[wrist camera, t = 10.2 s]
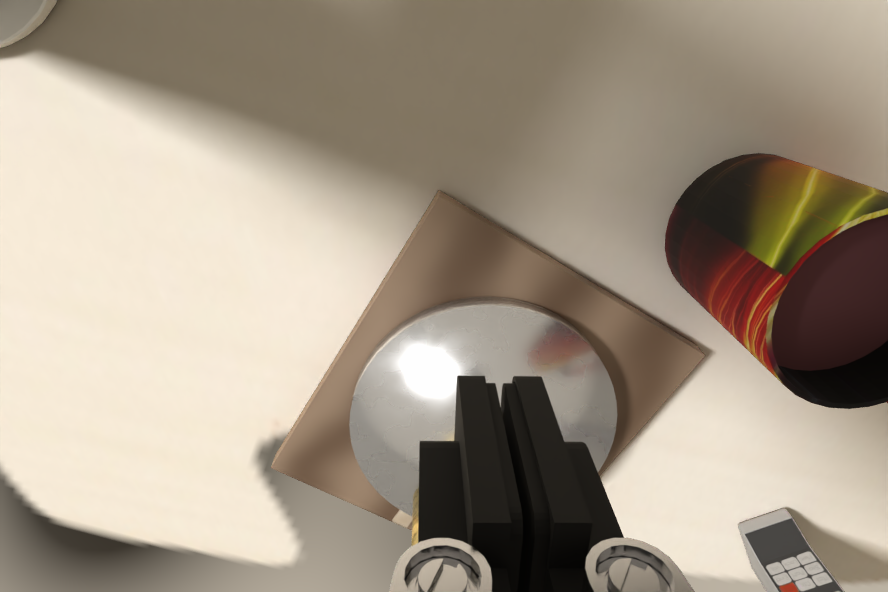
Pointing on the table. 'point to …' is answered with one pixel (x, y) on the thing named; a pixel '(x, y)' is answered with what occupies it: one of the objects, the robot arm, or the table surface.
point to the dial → (470, 354)
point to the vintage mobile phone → (784, 555)
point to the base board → (479, 275)
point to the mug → (791, 272)
